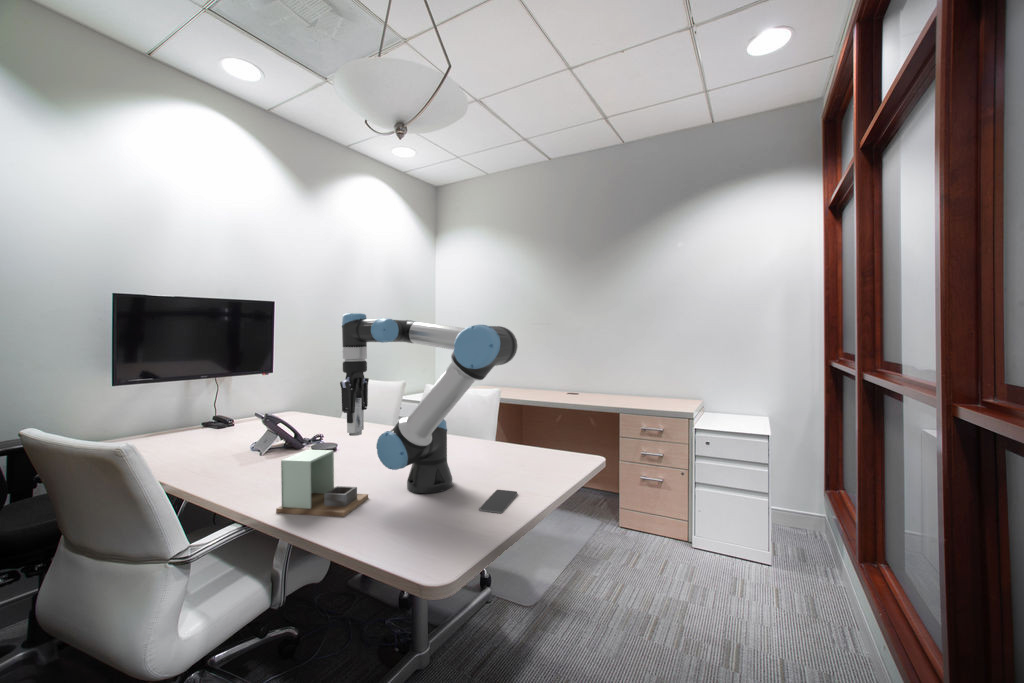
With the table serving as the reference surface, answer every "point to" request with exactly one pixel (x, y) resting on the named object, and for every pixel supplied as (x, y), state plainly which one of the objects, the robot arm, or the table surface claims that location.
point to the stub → (358, 416)
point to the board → (330, 503)
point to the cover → (306, 477)
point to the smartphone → (498, 501)
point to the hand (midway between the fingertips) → (355, 430)
